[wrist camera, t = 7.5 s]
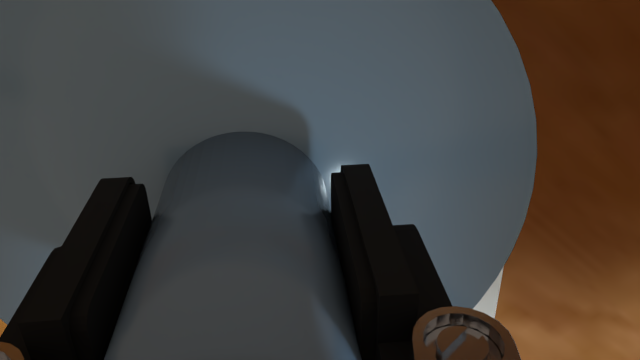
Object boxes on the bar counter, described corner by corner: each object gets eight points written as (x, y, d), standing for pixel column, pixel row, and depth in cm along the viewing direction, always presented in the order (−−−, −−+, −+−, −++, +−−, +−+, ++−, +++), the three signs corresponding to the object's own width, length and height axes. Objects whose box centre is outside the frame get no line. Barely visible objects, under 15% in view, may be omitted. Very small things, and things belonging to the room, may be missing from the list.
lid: (572, -142, 10) (1050, -198, 4) (484, 366, 16) (616, 647, 10) (-178, -127, 9) (-1077, -170, 3) (34, 405, 15) (-118, 742, 9)
